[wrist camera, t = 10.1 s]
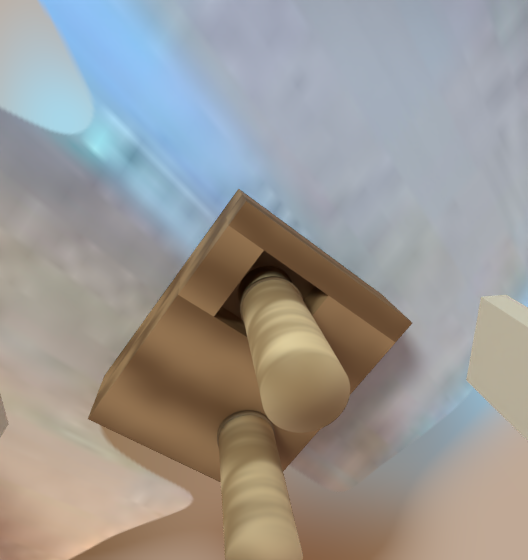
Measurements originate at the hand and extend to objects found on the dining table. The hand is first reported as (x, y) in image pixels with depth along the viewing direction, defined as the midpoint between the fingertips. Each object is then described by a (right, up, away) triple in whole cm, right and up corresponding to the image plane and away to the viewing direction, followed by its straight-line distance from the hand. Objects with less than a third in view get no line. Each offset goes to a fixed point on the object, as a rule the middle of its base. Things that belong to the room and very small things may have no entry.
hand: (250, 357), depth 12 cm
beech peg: (+1, +1, +23) cm, 23 cm away
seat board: (-1, -3, +27) cm, 27 cm away
